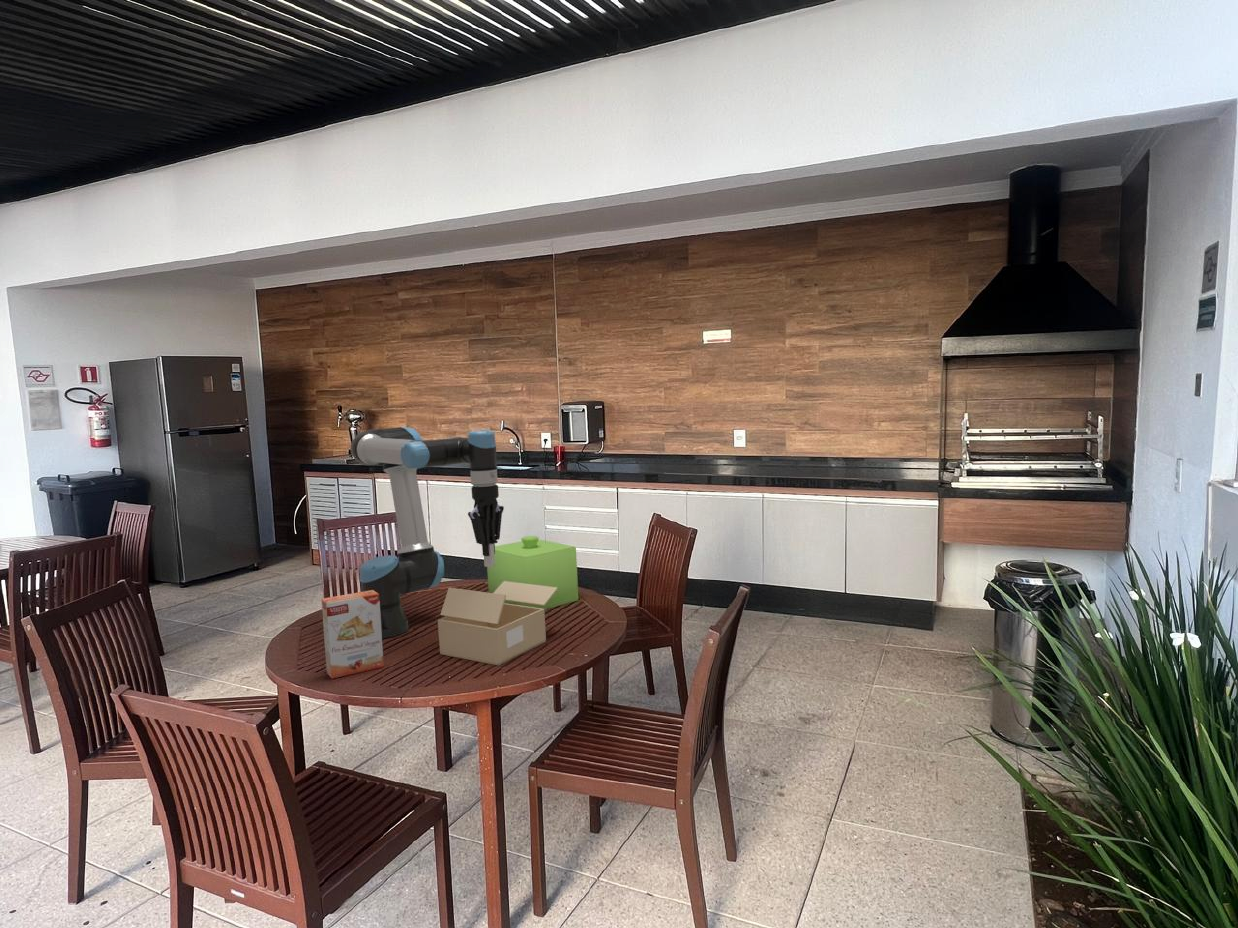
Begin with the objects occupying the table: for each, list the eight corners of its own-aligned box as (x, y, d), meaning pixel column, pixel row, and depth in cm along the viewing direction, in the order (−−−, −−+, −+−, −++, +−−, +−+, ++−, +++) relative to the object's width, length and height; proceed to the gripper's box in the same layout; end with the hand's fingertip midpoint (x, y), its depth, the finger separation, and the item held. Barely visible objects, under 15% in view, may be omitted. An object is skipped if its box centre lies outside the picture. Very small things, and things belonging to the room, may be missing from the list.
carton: (440, 653, 211) (437, 619, 210) (489, 632, 228) (487, 600, 228) (499, 665, 199) (497, 629, 198) (546, 642, 217) (544, 608, 216)
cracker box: (331, 680, 194) (325, 602, 192) (326, 673, 199) (320, 597, 197) (385, 667, 202) (379, 592, 200) (378, 661, 207) (373, 588, 205)
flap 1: (440, 614, 210) (448, 587, 213) (441, 615, 210) (449, 587, 213) (496, 623, 199) (505, 594, 202) (498, 624, 199) (506, 595, 202)
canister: (489, 600, 265) (485, 537, 263) (537, 588, 279) (534, 528, 277) (528, 614, 247) (524, 546, 245) (578, 600, 261) (575, 536, 259)
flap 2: (489, 597, 228) (503, 581, 233) (489, 598, 228) (504, 582, 234) (543, 604, 217) (557, 587, 223) (544, 606, 217) (558, 588, 223)
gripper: (479, 488, 202) (484, 572, 204) (509, 482, 213) (514, 562, 215) (458, 487, 206) (464, 570, 208) (489, 481, 217) (494, 560, 219)
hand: (489, 566), depth 212 cm, fingers closed
